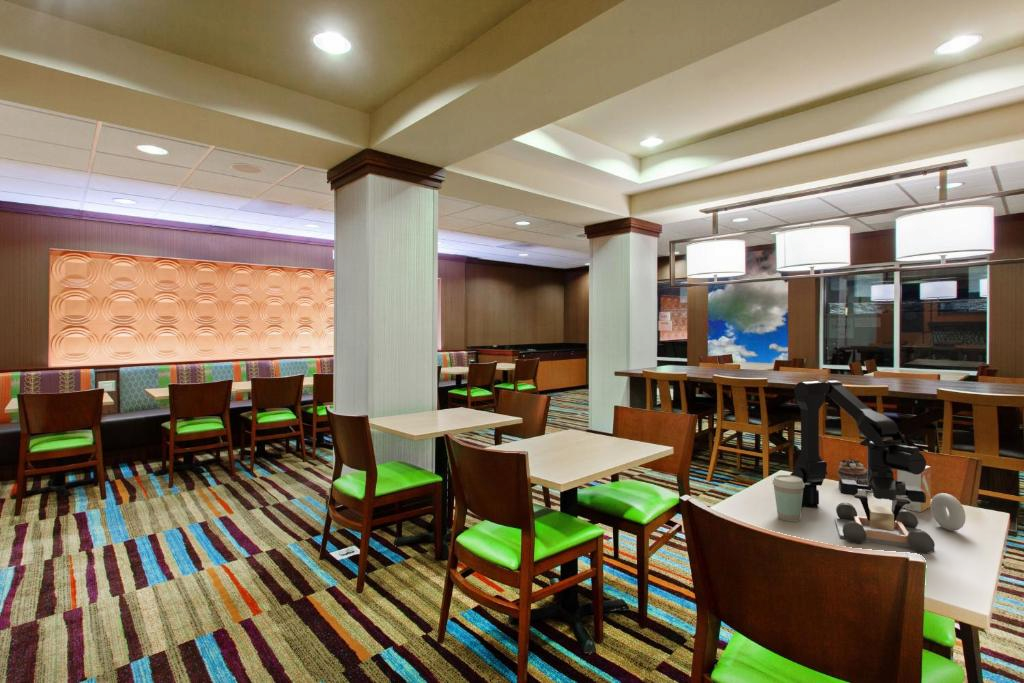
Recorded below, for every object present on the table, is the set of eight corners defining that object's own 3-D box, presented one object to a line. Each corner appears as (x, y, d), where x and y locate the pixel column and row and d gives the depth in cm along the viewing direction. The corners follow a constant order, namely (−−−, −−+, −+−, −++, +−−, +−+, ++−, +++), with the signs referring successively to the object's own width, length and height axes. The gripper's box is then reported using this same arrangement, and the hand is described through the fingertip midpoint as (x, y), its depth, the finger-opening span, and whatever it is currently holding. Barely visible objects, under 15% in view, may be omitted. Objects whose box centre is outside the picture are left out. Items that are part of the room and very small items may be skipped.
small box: (921, 512, 154) (921, 470, 154) (896, 507, 159) (896, 465, 159) (931, 507, 158) (931, 465, 158) (907, 502, 164) (906, 461, 164)
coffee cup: (801, 514, 155) (801, 475, 154) (808, 524, 147) (807, 483, 146) (770, 511, 157) (770, 473, 157) (775, 521, 149) (774, 481, 149)
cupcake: (861, 494, 172) (861, 465, 172) (832, 487, 180) (831, 459, 180) (876, 489, 177) (876, 461, 176) (847, 482, 185) (846, 455, 185)
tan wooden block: (871, 528, 137) (871, 511, 137) (867, 520, 142) (867, 505, 142) (894, 531, 134) (893, 514, 134) (889, 523, 140) (889, 507, 140)
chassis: (841, 541, 134) (841, 522, 134) (834, 517, 151) (833, 501, 151) (937, 555, 125) (937, 535, 125) (918, 528, 142) (918, 510, 142)
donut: (927, 522, 146) (927, 488, 146) (940, 522, 146) (939, 488, 146) (955, 536, 136) (955, 499, 136) (969, 536, 136) (969, 499, 136)
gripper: (842, 468, 135) (843, 526, 135) (931, 476, 127) (931, 538, 127) (838, 458, 145) (838, 513, 145) (920, 465, 136) (920, 523, 137)
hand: (880, 521), depth 138 cm, fingers closed on tan wooden block, 5 cm apart
